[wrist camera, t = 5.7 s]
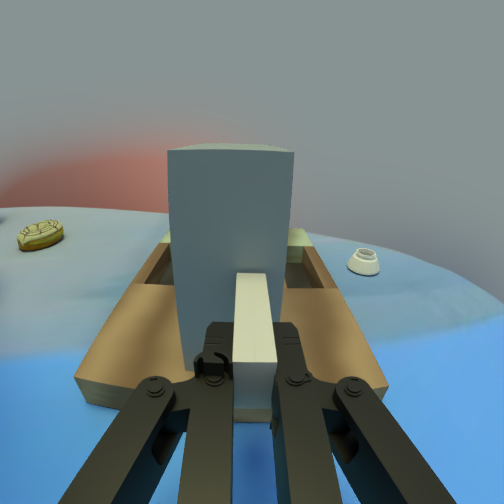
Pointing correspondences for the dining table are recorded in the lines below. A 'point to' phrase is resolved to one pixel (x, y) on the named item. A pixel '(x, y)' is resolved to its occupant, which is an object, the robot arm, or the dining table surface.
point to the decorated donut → (40, 235)
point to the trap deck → (169, 342)
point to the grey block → (225, 230)
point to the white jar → (364, 262)
